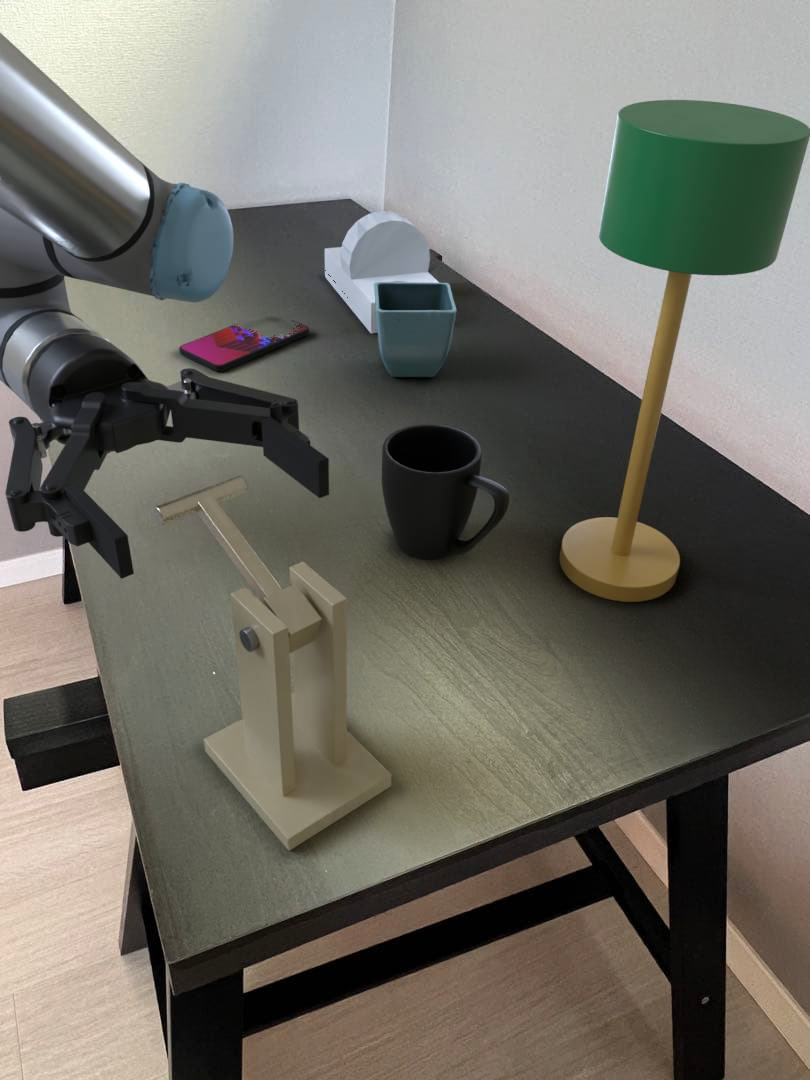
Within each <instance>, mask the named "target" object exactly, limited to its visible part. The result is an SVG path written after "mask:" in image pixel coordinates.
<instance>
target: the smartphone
mask: <svg viewBox="0 0 810 1080" xmlns="http://www.w3.org/2000/svg"><path fill="white" fill-rule="evenodd" d="M293 321H294V322H295V321H296V320H293ZM296 322H297V324H298V323H299V325H297V326H296V328H297V327H300V328H297V329H299V331H298V330H295V331H293V335H290V334H292V333H289V334H288V335H286V336H282V335H283V334H280V335H281V337H280V336H277V337H274V336H275V335H274V336H273V338H272V337H270V338H272V339H270V338H266V337H267V336H265V337H262V338H261V336H263V335H261V336H258V335H259V334H257V332H258V331H256V332H254V333H251V332H253V331H254V330H252V331H249V330H251V329H249V330H246V329H247V328H246V329H242V328H240V327H238V326H235V324H232V325H230V326H228V327H224V328H223V329H220V330H217V331H215V332H212V333H209V334H207V335H204V336H202V337H199V338H197V339H195V340H191V341H189V342H186V343H184V344H182V345H180V346H179V348H178V349H179V354H180V355H182V356H183V357H185V358H188V359H190V360H192V361H194V362H196V363H199V365H200V364H201V365H202V366H204V367H206V368H208V369H211V370H213V371H215V372H223V371H226V370H228V369H230V368H233V367H235V366H238V365H240V364H242V363H245V362H246V361H247V362H248V361H249V360H252V359H254V358H256V357H259V356H261V355H263V354H266V353H268V352H271V351H273V350H275V349H278V348H279V347H282V346H284V345H286V344H289V343H292V342H294V341H296V340H298V339H300V338H303V337H305V336H307V335H309V334H310V327H309V326H308V325H305V324H303V323H301V322H299V321H296ZM233 325H234V326H233ZM295 325H296V324H295ZM249 327H250V326H249ZM293 329H295V328H293ZM294 332H297V333H294ZM287 336H288V337H287ZM278 337H280V338H278Z"/></svg>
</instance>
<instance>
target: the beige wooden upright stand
mask: <svg viewBox="0 0 810 1080" xmlns="http://www.w3.org/2000/svg"><path fill="white" fill-rule="evenodd" d="M288 570H289V586H291V585H294V584H296V585H297V586H298V588H299V589H300V590H301V592H302V593H303V594H304V596H305V597H306V598H307V600H308V601H309V602H310V604H311V605H312V606H313V608H314V609H315V610H316V612H317V613H318V614H319V616H320V617H321V618H322V620H321V624H320V627H319V630H318V633H317V636H316V639H315V641H314V642H312V643H310V644H308V645H306V646H304V647H302V648H300V649H298V650H296V651H294V652H292V654H293V655H292V659H293V680H294V691H292V682H291V681H292V679H291V678H292V677H291V660H290V659H291V658H290V654H289V637H288V627H287V626H286V625H285V624H284V623H283V622H282V621H281V620H280V619H279V618H278V617H277V616H276V615H274V614H273V613H272V612H271V611H270V610H269V609H268V608H267V607H266V606H265V605H264V604H263V603H262V601H261V600H260V598H258V597H257V596H256V595H255V594H254V593H252V592H251V591H250V590H249V589H248V588H247V587H246V586H244V587H242V588H240V589H237V590H234V591H233V592H231V593H230V601H231V612H232V621H233V622H232V623H233V633H234V642H235V643H234V644H235V654H236V656H235V657H236V666H237V677H238V686H239V696H240V697H239V698H240V708H241V719H239V720H237V721H236V722H233V723H231V724H230V725H228V726H226V727H224V728H222V729H220V730H218V731H217V732H215V733H213V734H210V735H209V736H206V737H205V738H204V739H203V745H204V751H205V753H206V754H207V755H208V756H209V758H210V759H211V760H212V761H213V762H214V763H215V765H216V766H217V767H218V768H219V769H220V771H221V772H222V773H223V774H224V775H225V777H226V778H227V779H228V780H229V782H230V783H231V784H232V785H233V787H235V789H236V790H237V791H238V792H239V793H240V795H241V796H242V797H243V799H245V801H246V802H247V803H248V804H249V805H250V806H251V808H252V809H253V810H254V811H255V813H256V814H257V815H258V816H259V817H260V819H261V820H262V821H263V822H264V823H265V825H266V826H267V827H268V828H269V829H270V830H271V832H273V834H274V835H275V836H276V838H277V839H278V840H279V841H280V842H281V843H282V845H283V846H284V847H285V848H286V849H287V851H289V852H290V851H291V850H293V849H295V848H297V847H298V846H299V845H301V844H303V843H304V842H306V841H307V840H309V839H311V838H312V837H314V836H315V835H317V834H318V833H320V832H322V831H323V830H325V829H326V828H328V827H329V826H331V825H333V824H334V823H336V822H337V821H339V820H340V819H342V818H343V817H345V816H347V815H348V814H350V813H351V812H353V811H354V810H356V809H357V808H359V807H361V806H362V805H364V804H365V803H367V802H369V801H370V800H372V799H374V798H375V797H376V796H378V795H380V794H382V793H383V792H384V791H387V790H388V789H389V788H391V787H392V773H391V772H390V771H389V770H388V769H387V768H385V766H384V765H383V764H382V763H381V762H380V761H378V759H376V758H375V756H374V755H372V754H371V752H370V751H368V750H367V748H365V747H364V746H363V745H362V744H361V743H360V742H359V740H358V739H356V737H354V736H353V735H352V733H351V732H350V731H348V720H347V719H348V610H347V609H348V606H347V605H348V599H347V598H346V596H344V595H343V594H342V593H341V592H340V591H338V590H337V589H336V588H335V587H333V585H331V584H330V583H329V582H328V581H327V580H326V579H324V578H323V577H322V576H320V574H318V573H317V572H316V571H315V570H313V568H311V567H310V566H309V565H308V564H307V563H305V562H304V561H300V562H298V563H296V564H293V565H291V566H290V567H289V568H288Z"/></svg>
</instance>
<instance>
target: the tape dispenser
mask: <svg viewBox="0 0 810 1080" xmlns="http://www.w3.org/2000/svg"><path fill="white" fill-rule="evenodd" d="M430 262H431V253H430V245H429V244H428V241H427V239H426V237H425V234H423V233H422V232H421V231H420V230H419V228H417V227H416V226H415V225H414V224H413V223H412V222H411V221H410V220H409V219H407V218H406V216H404V215H401V214H399V213H397V212H395V211H387V210H379V211H374V212H370V213H368V214H366V215H364V216H363V217H361V218H359V219H358V220H356V221H355V223H353V225H352V226H351V227H350V228H349V229H348V230H347V232H346V235H345V237H344V239H343V241H342V243H341V246H337V247H336V246H335V247H326V248H324V277H325V279H326V280H327V281H328V282H329V284H330V285H331V287H332V288H333V289H334V290H335V292H336V293H337V294H338V295H339V296H340V298H342V300H343V301H344V303H346V305H347V306H348V307H349V309H350V310H351V311H352V312H353V313H354V315H355V316H356V317H357V319H358V320H359V321H360V322H361V323H362V324H363V326H364V327H365V328H366V330H367V331H368V332H369V333H370V334H378V329H377V318H376V304H375V293H374V283H376V282H425V283H426V282H433V283H440V281H438V280H437V279H436V278H435V277H434V276H433V275H432V274H431V273H430V272H429V268H430ZM325 270H326V271H325ZM328 274H329V275H330V276H331V277H330V276H329V275H328ZM333 280H334V281H335V282H336V283H335V282H334V281H333ZM342 291H343V292H342ZM344 293H345V294H344ZM347 297H348V298H347Z"/></svg>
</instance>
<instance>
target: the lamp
mask: <svg viewBox="0 0 810 1080" xmlns="http://www.w3.org/2000/svg"><path fill="white" fill-rule="evenodd" d="M614 129H615V130H614V135H613V142H612V147H611V154H610V155H611V156H610V160H609V166H608V171H607V172H608V174H607V180H606V185H605V192H604V198H603V205H602V211H601V217H600V222H599V223H600V224H599V229H598V238H599V242H600V243H601V244H602V246H603V247H605V248H606V249H607V250H609V251H610V252H612V253H613V254H614V255H616V256H619V257H621V258H623V259H625V260H628V261H630V262H633V263H636V264H639V265H643V266H645V267H650V268H652V269H657V270H661V271H665V272H666V271H667V276H666V277H667V278H666V280H665V281H666V282H665V287H664V292H663V297H662V300H661V306H660V311H659V315H658V321H657V325H656V329H655V335H654V340H653V345H652V349H651V353H650V354H651V355H650V359H649V364H648V369H647V373H646V377H645V384H644V388H643V392H642V398H641V402H640V407H639V412H638V417H637V422H636V426H635V427H636V428H635V431H634V436H633V441H632V447H631V451H630V456H629V461H628V465H627V471H626V475H625V480H624V485H623V490H622V494H621V499H620V504H619V509H618V514H617V517H610V516H605V517H602V516H601V517H593V518H589V519H585V520H582V521H579V522H577V523H575V524H574V525H572V526H571V527H570V528H569V529H568V530H567V531H566V532H565V533H564V535H563V537H562V540H561V544H560V545H561V546H560V549H559V550H560V552H559V564H560V567H561V570H562V571H563V573H564V574H565V576H566V577H567V578H568V579H569V581H571V582H572V583H573V584H574V585H576V586H577V587H579V588H580V589H581V590H583V591H585V592H588V593H589V594H590V595H591V594H592V595H594V596H597V597H599V598H602V599H606V600H611V601H614V602H623V603H639V602H646V601H651V600H655V599H657V598H660V597H661V596H663V595H665V594H666V593H667V592H669V591H670V590H671V589H672V588H673V586H674V585H675V583H676V581H677V577H678V574H679V570H680V567H681V557H680V553H679V550H678V548H677V547H676V545H675V544H674V543H673V542H672V541H671V540H670V538H669V537H667V536H666V535H665V534H664V533H662V532H661V531H659V530H658V529H656V528H654V527H652V526H650V525H648V524H645V523H642V522H639V521H638V518H639V513H640V511H641V505H642V500H643V497H644V496H643V495H644V493H645V492H644V491H645V487H646V482H647V479H648V478H647V477H648V473H649V469H650V464H651V459H652V456H653V452H654V451H653V450H654V447H655V442H656V438H657V434H658V433H657V432H658V428H659V423H660V420H661V416H662V411H663V405H664V403H665V397H666V392H667V387H668V384H669V380H670V379H669V378H670V374H671V370H672V366H673V361H674V356H675V351H676V347H677V343H678V338H679V334H680V330H681V324H682V320H683V315H684V310H685V306H686V302H687V297H688V293H689V288H690V284H691V280H692V275H695V276H696V275H697V276H736V275H745V274H750V273H755V272H759V271H762V270H764V269H767V268H768V267H770V266H772V265H773V264H774V263H775V262H776V260H777V258H778V254H779V251H780V248H781V244H782V240H783V236H784V233H785V229H786V226H787V222H788V217H789V215H790V211H791V208H792V204H793V200H794V196H795V192H796V189H797V185H798V181H799V178H800V174H801V171H802V167H803V165H804V164H803V163H804V160H805V157H806V152H807V149H808V145H809V141H810V127H809V126H808V125H807V124H806V123H804V122H802V121H801V120H798V119H796V118H794V117H792V116H789V115H786V114H783V113H780V112H776V111H773V110H769V109H764V108H760V107H754V106H748V105H742V104H737V103H730V102H729V103H728V102H721V101H712V100H710V101H709V100H696V99H695V100H694V99H658V100H657V99H656V100H646V101H640V102H634V103H631V104H630V103H629V104H628V105H625V106H622V107H621V108H620V109H618V112H617V116H616V121H615V128H614Z"/></svg>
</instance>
